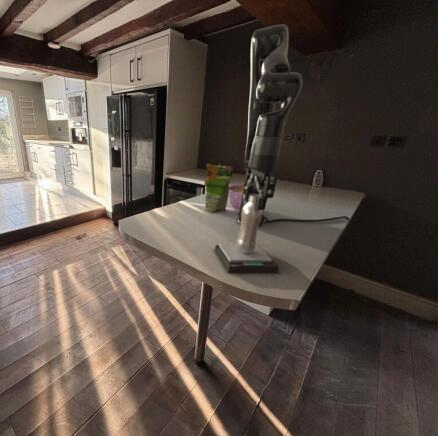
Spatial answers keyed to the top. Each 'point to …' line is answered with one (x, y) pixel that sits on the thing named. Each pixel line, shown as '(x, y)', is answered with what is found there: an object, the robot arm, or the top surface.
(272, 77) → the robot arm
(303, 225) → the top surface
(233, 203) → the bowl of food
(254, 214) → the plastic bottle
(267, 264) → the scale
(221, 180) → the pouch
